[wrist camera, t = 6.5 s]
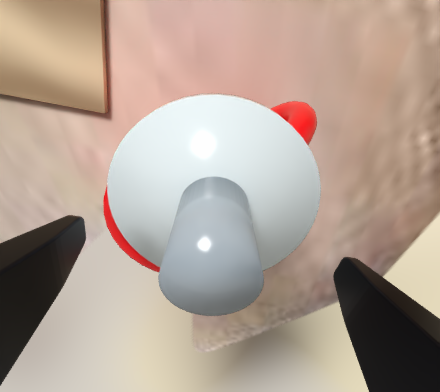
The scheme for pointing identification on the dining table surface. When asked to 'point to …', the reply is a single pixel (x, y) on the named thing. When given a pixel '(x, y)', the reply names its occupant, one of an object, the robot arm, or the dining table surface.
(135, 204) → the lid
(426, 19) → the dining table surface
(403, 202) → the dining table surface
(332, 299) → the dining table surface
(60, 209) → the dining table surface
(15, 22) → the mat
